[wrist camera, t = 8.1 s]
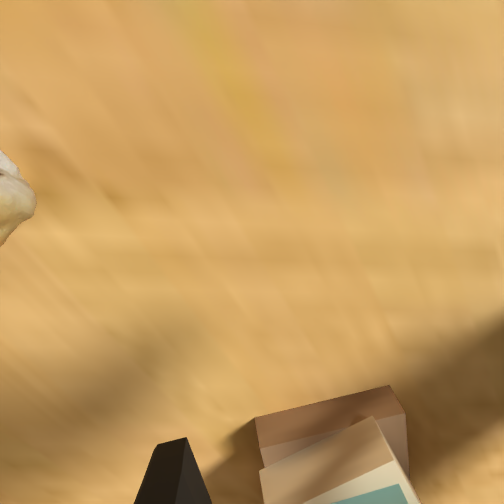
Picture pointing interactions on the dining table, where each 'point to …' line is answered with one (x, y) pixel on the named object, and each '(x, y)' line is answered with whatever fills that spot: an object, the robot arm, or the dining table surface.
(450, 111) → the dining table surface
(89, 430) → the dining table surface
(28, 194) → the pastry
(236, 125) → the dining table surface
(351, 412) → the tower base
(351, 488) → the tower top
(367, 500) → the teal block
